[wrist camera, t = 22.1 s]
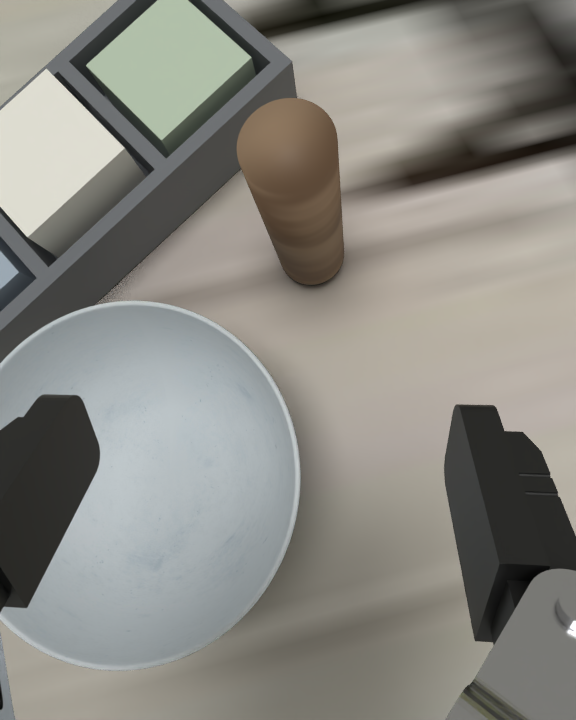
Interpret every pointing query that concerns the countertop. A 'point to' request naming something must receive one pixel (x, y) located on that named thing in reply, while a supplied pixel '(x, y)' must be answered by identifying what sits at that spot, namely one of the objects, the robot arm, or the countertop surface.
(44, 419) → the robot arm
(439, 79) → the countertop surface
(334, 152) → the walnut stylus
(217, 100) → the sage key
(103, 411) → the chinaware
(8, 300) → the slate key
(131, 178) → the ivory key
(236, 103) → the keypad
